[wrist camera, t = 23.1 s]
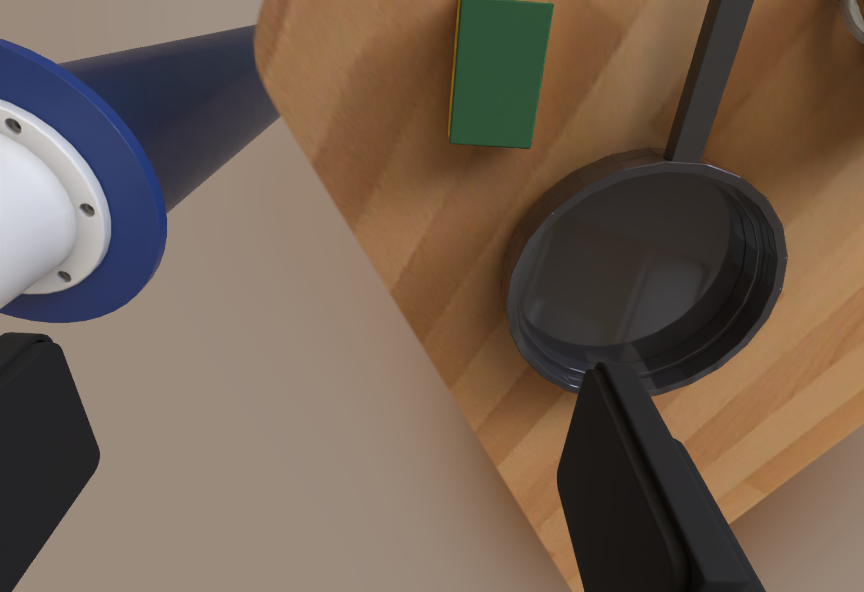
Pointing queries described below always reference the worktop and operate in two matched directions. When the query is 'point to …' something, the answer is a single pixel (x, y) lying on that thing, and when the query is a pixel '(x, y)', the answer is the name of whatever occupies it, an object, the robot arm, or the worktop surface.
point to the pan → (643, 270)
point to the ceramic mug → (852, 19)
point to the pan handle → (707, 78)
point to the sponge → (497, 71)
